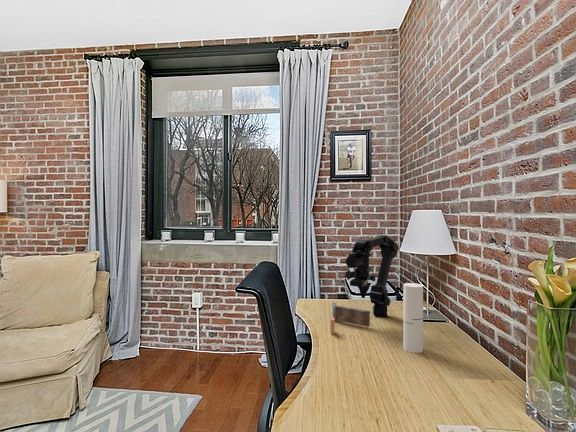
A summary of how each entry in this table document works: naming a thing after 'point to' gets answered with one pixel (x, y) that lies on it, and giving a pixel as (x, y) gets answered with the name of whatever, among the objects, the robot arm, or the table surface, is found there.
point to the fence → (333, 319)
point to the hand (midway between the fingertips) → (363, 297)
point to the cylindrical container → (413, 317)
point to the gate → (353, 316)
